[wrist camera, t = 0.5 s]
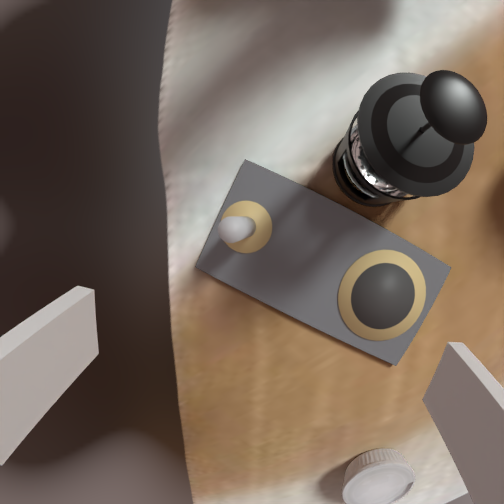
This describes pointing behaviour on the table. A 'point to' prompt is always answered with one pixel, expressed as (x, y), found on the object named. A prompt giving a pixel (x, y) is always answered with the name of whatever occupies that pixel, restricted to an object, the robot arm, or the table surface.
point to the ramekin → (377, 478)
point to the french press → (410, 138)
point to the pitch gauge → (322, 263)
